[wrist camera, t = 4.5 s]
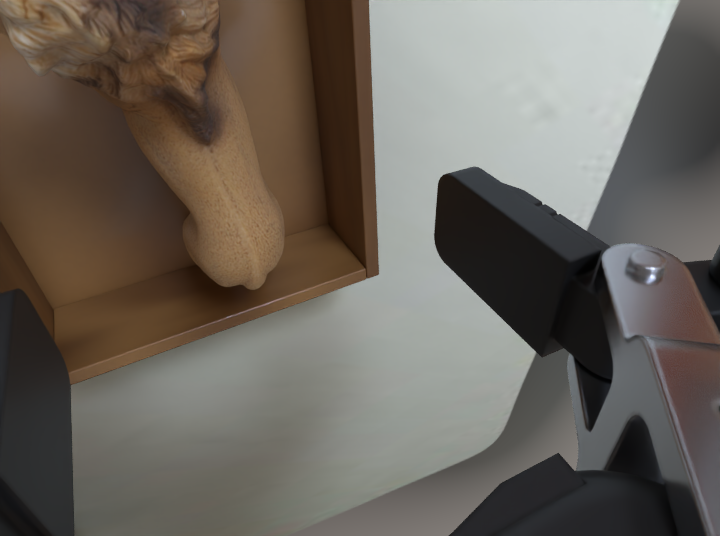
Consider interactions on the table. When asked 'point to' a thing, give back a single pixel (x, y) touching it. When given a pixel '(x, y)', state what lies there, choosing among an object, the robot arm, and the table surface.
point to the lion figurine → (168, 114)
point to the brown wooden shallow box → (163, 207)
